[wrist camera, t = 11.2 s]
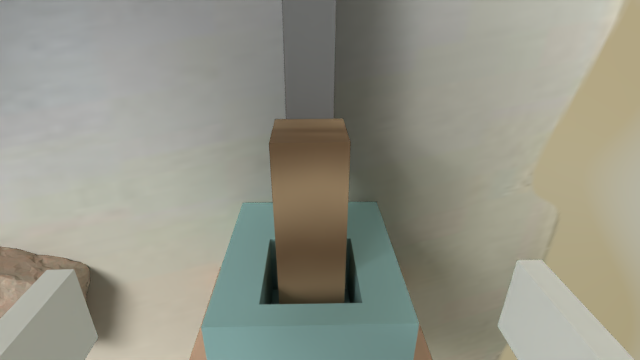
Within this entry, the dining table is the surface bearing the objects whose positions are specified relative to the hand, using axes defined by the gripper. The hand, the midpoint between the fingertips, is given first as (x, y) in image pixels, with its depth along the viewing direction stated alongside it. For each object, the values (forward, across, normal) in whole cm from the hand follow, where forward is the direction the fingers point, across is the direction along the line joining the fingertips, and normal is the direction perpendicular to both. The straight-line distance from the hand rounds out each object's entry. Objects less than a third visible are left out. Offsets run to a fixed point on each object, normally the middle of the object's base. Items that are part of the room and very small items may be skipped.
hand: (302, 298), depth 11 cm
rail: (+18, +1, +6) cm, 19 cm away
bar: (+12, 0, -4) cm, 13 cm away
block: (+18, +1, -10) cm, 20 cm away
